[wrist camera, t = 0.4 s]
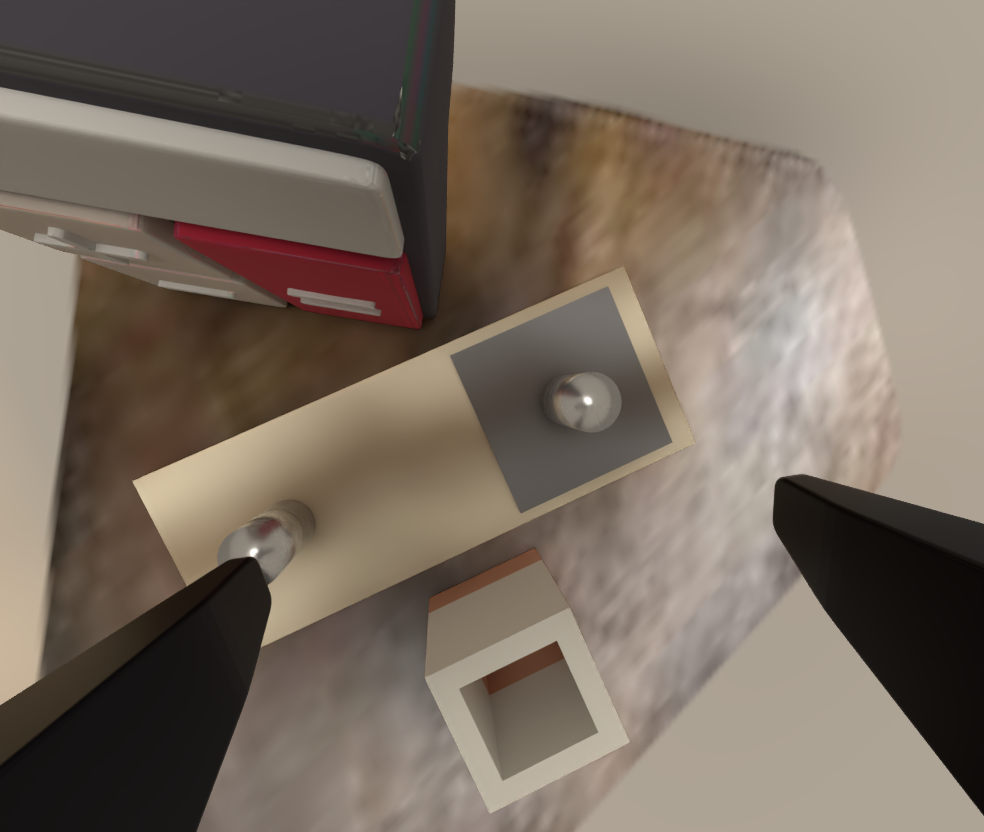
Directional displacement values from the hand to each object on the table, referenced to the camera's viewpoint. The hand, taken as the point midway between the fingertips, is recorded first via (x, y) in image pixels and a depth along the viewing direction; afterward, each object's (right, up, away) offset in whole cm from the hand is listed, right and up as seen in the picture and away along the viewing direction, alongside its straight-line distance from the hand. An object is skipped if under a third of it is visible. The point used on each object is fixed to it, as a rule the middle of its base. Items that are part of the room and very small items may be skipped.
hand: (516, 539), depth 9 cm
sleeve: (0, -7, +13) cm, 15 cm away
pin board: (-3, 0, +13) cm, 13 cm away
